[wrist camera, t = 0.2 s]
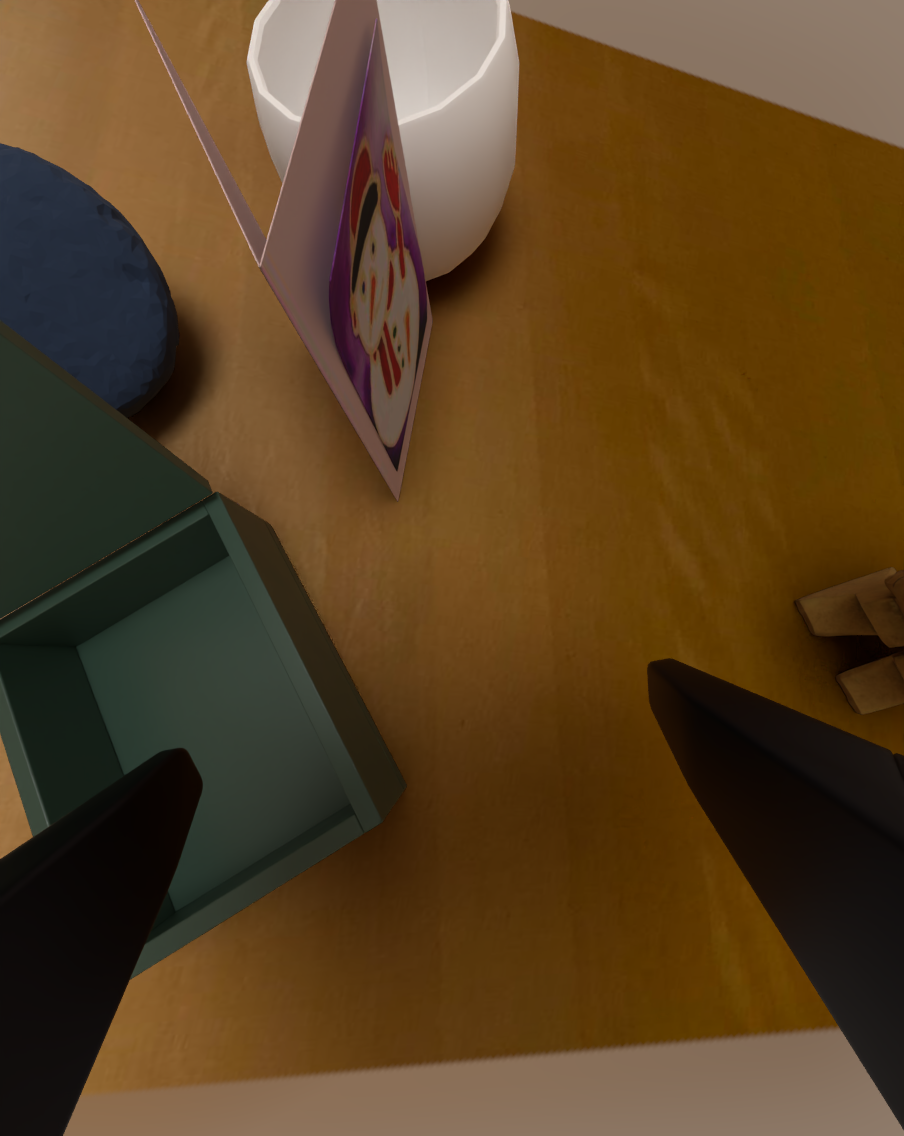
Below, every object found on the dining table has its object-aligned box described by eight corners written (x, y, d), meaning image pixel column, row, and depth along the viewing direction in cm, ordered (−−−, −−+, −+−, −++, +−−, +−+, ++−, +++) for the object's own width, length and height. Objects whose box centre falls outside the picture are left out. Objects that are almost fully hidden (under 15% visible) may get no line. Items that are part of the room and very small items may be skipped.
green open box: (407, 786, 22) (383, 822, 17) (179, 928, 21) (85, 1007, 16) (270, 524, 25) (217, 490, 20) (71, 642, 25) (-32, 637, 20)
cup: (293, 309, 28) (191, 129, 18) (351, 152, 30) (286, -80, 21) (487, 341, 26) (483, 161, 17) (533, 172, 28) (553, -71, 19)
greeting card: (413, 503, 25) (296, 269, 10) (285, 487, 25) (5, 251, 11) (446, 322, 27) (392, -89, 12) (328, 313, 28) (142, -80, 13)
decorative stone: (4, 403, 28) (-251, 268, 19) (126, 264, 30) (-52, 71, 20) (132, 496, 26) (-82, 398, 16) (257, 341, 28) (128, 167, 18)
